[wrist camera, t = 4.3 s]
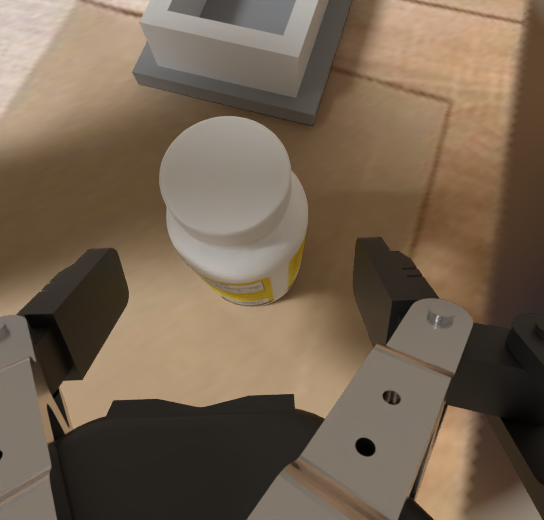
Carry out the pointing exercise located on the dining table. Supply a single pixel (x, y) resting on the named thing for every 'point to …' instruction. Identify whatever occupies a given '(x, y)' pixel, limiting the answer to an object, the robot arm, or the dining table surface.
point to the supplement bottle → (235, 208)
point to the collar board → (243, 52)
